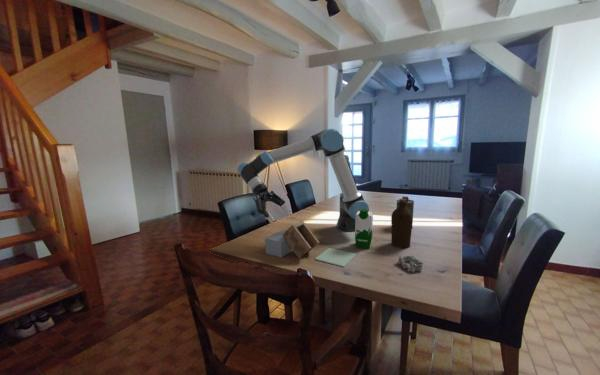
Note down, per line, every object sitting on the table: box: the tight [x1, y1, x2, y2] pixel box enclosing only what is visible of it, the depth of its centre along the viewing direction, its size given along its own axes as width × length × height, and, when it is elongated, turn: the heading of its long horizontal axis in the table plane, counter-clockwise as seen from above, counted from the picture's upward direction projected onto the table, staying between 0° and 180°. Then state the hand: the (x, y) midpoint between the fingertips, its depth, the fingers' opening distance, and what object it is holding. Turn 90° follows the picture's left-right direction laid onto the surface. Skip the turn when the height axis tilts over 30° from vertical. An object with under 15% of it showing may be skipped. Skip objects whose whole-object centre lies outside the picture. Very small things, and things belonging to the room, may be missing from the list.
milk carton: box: [354, 209, 374, 250], centre depth 142 cm, size 9×9×20 cm
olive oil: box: [390, 198, 414, 249], centre depth 142 cm, size 11×11×25 cm
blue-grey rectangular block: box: [264, 228, 294, 258], centre depth 139 cm, size 10×16×8 cm, turn 147°
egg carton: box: [396, 254, 425, 273], centre depth 119 cm, size 11×8×4 cm
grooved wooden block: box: [282, 220, 320, 259], centre depth 132 cm, size 16×9×16 cm, turn 57°
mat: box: [314, 247, 358, 268], centre depth 130 cm, size 15×15×1 cm
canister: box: [396, 195, 415, 229], centre depth 171 cm, size 11×10×20 cm
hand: (281, 218), depth 137 cm, fingers open, 13 cm apart
